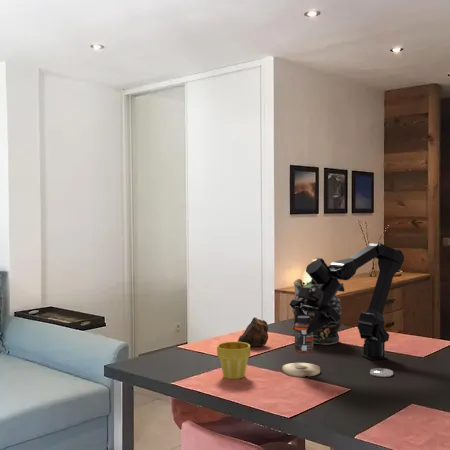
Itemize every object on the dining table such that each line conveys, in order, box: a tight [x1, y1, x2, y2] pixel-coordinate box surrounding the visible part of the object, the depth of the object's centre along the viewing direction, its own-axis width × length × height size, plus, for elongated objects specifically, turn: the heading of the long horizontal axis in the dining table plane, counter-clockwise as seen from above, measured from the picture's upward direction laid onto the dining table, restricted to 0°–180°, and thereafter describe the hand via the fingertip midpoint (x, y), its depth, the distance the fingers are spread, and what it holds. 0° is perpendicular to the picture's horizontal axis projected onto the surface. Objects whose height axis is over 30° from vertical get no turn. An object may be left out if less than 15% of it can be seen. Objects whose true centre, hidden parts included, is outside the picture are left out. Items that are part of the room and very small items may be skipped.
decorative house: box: [291, 278, 343, 345], centre depth 228 cm, size 21×15×25 cm
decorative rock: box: [237, 317, 269, 348], centre depth 220 cm, size 12×6×11 cm, turn 103°
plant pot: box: [216, 341, 251, 380], centre depth 180 cm, size 10×10×10 cm
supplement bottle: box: [294, 316, 314, 354], centre depth 184 cm, size 6×6×11 cm
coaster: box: [281, 362, 321, 378], centre depth 185 cm, size 12×12×1 cm
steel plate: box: [369, 367, 394, 378], centre depth 182 cm, size 7×7×1 cm
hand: (300, 331), depth 183 cm, fingers closed on supplement bottle, 6 cm apart
